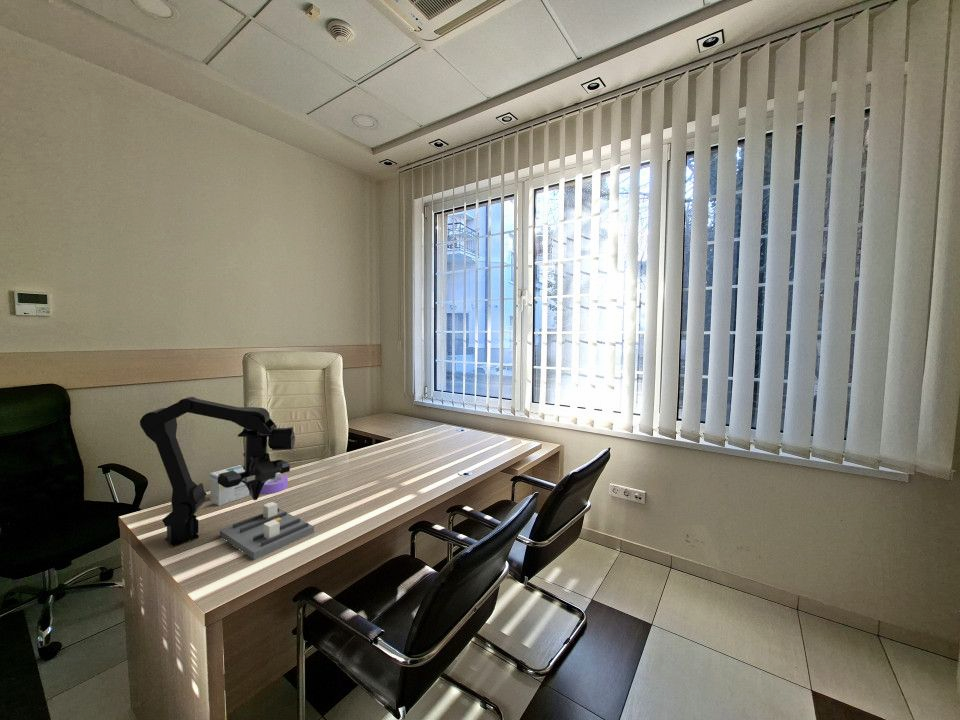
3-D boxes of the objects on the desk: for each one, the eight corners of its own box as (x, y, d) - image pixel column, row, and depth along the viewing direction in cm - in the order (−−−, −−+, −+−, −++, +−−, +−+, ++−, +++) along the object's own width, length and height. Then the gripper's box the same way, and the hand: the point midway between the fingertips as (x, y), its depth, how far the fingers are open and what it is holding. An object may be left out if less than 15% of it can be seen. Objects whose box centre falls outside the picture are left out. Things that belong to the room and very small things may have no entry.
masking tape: (279, 480, 159) (280, 471, 158) (292, 488, 151) (292, 479, 151) (249, 488, 150) (249, 479, 149) (261, 497, 142) (261, 487, 142)
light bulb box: (240, 491, 146) (240, 464, 145) (249, 496, 143) (249, 468, 142) (209, 501, 137) (208, 472, 136) (218, 506, 134) (218, 476, 133)
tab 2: (269, 540, 110) (269, 526, 109) (263, 536, 111) (263, 523, 111) (279, 535, 112) (279, 522, 112) (273, 532, 114) (274, 519, 114)
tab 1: (268, 519, 121) (268, 507, 121) (263, 516, 123) (263, 504, 123) (277, 516, 124) (277, 504, 123) (272, 513, 125) (272, 501, 125)
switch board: (254, 559, 104) (254, 549, 104) (219, 536, 115) (219, 526, 114) (313, 532, 119) (314, 523, 119) (278, 514, 130) (278, 505, 130)
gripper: (235, 463, 104) (233, 519, 105) (300, 449, 119) (298, 497, 120) (217, 454, 110) (216, 507, 111) (281, 442, 125) (280, 488, 126)
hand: (255, 499), depth 117 cm, fingers closed
